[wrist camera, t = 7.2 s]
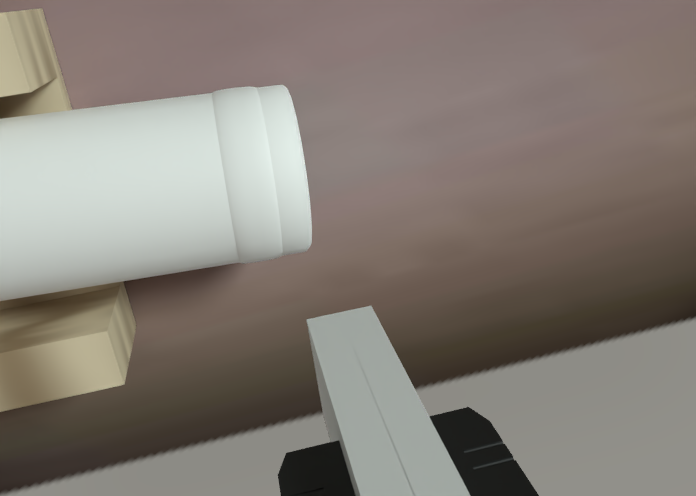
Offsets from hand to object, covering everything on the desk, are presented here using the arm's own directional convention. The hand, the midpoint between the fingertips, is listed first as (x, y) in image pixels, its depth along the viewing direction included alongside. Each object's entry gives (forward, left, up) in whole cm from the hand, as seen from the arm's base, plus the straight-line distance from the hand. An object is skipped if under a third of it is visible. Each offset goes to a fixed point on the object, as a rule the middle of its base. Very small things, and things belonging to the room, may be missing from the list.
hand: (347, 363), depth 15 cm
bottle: (-1, -1, -17) cm, 17 cm away
